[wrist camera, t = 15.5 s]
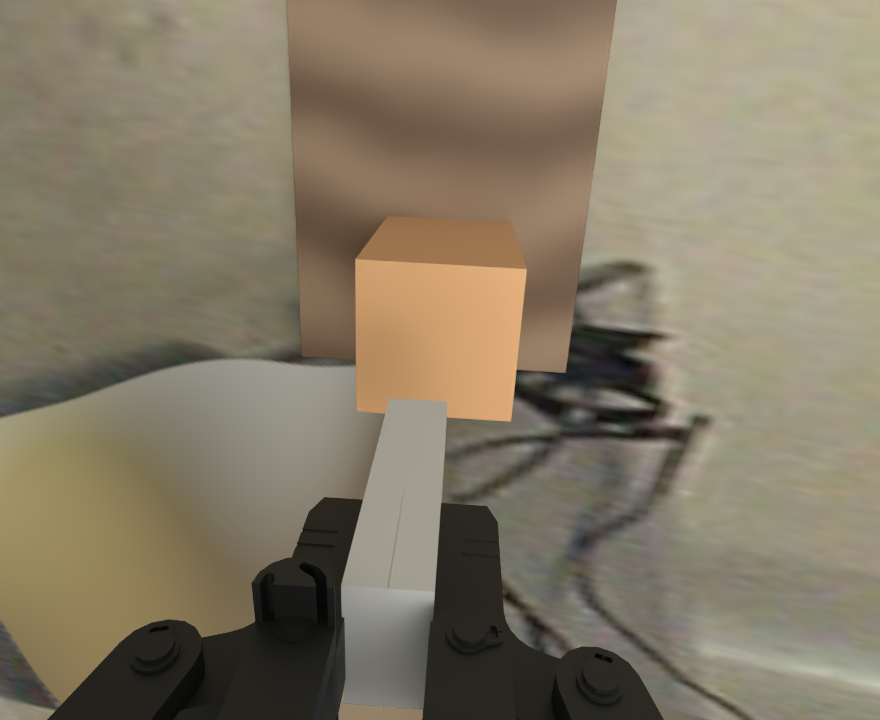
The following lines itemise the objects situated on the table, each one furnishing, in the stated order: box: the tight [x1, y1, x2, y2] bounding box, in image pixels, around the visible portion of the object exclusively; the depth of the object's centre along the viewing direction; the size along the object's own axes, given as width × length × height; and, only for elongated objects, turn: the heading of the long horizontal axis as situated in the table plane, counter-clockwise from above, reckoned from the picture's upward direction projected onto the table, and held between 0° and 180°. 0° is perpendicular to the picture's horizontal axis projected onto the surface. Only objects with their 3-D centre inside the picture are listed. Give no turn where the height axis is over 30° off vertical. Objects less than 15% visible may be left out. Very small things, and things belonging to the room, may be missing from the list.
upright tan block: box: [355, 216, 527, 421], centre depth 29 cm, size 6×6×10 cm
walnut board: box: [287, 0, 617, 373], centre depth 31 cm, size 26×15×2 cm, turn 177°
